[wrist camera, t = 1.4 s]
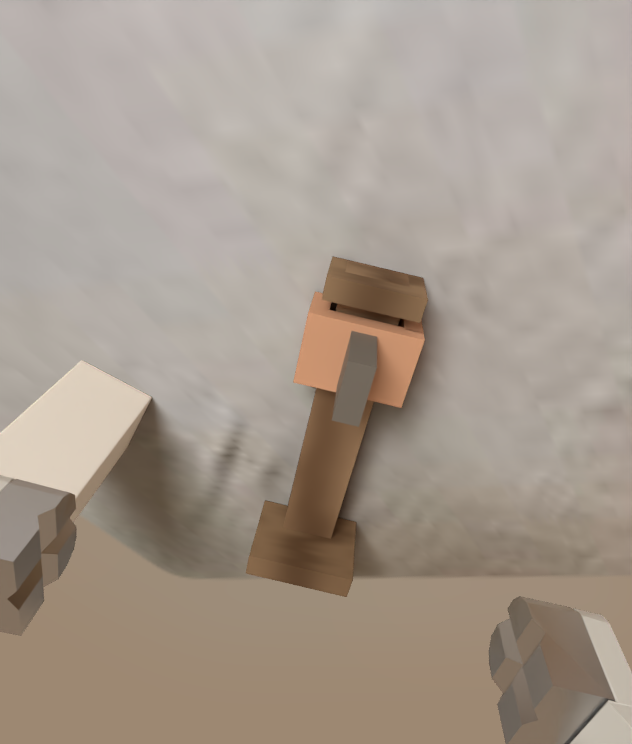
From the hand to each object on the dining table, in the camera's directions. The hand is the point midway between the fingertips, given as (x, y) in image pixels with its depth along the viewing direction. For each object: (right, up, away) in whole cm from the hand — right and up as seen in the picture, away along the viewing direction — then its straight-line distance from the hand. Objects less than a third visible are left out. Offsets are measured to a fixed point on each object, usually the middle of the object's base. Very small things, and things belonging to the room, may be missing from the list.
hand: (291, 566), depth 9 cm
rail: (+2, 0, +30) cm, 30 cm away
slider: (+3, +6, +26) cm, 27 cm away
